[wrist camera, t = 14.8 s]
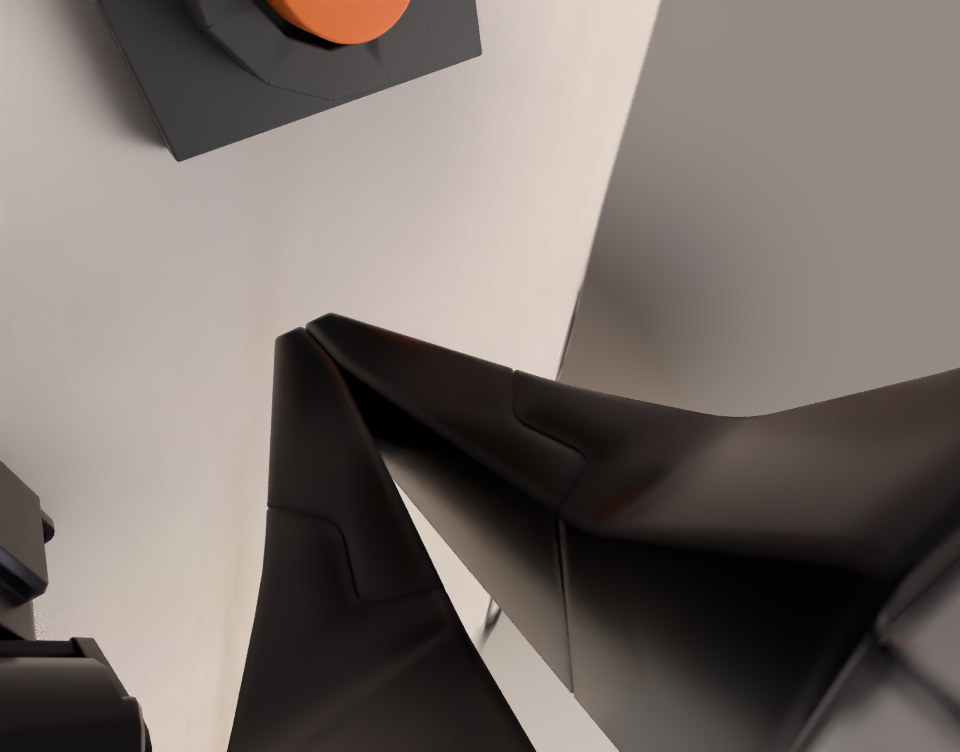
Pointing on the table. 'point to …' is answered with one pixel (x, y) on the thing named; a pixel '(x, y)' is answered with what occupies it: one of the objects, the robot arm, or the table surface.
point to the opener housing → (268, 63)
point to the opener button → (342, 17)
